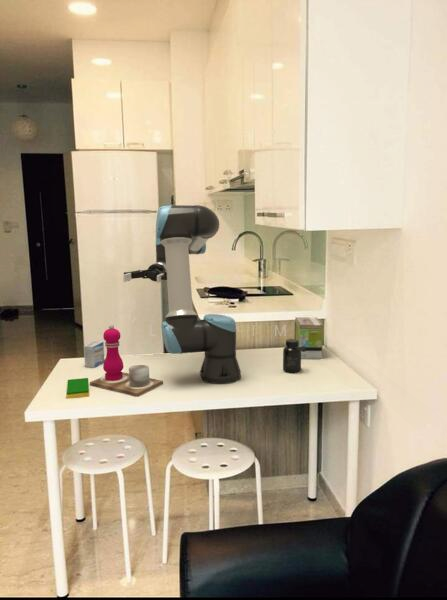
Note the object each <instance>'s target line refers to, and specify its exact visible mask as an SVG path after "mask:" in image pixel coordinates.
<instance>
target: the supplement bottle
mask: <svg viewBox="0 0 447 600" xmlns="http://www.w3.org/2000/svg"><path fill="white" fill-rule="evenodd" d="M298 346H299V341H298V340H296V339H295V338H289V339H286V340H285V346H284V347H283V350H282V370H283V371H284V372H285V373H287V374H297V373H300V372H301V370H302V359H301V349H300V348H299V347H298Z"/></svg>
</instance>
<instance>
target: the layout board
mask: <svg viewBox="0 0 447 600" xmlns="http://www.w3.org/2000/svg"><path fill="white" fill-rule="evenodd" d="M121 372H122V373H123V378H122V379H120V380H116V381H108V380H106V379H105V375H103V376H101V377H99V378H97V379H95V380H92V381H89V386H91V387H96V388H99V389H104V390H109V391H113V392H116V393H120V394H124V395H125V394H126V395H130V396H134V397H136V398H137V397H141V396H143V395H144V394H146V393H148V392H150V391H152V390H155V389H156V388H159V387H160V386H162V385H164V380H160V379H156V378H153V377H150V366H149V365H146V364H135V365H131V366H130V367H128V373H127V372H123V371H121Z"/></svg>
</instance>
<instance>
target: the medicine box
mask: <svg viewBox="0 0 447 600" xmlns="http://www.w3.org/2000/svg"><path fill="white" fill-rule="evenodd" d="M83 355H84V366H85V367H86V368H97V367H99V366H100V365H102V364H104V361H105V358H106V357H105V343H104V341H98V340H97V341H93V342H91V343H88V344H87V345H83Z"/></svg>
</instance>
